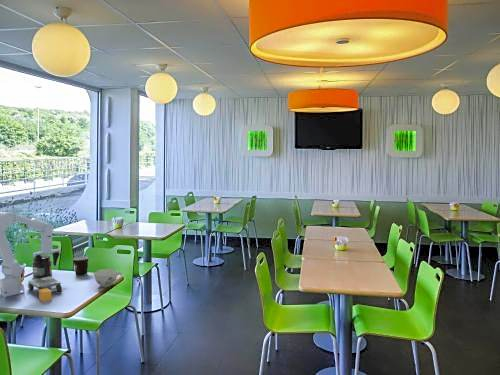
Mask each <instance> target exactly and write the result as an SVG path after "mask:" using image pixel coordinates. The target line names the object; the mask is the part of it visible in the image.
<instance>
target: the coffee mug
mask: <svg viewBox="0 0 500 375" xmlns="http://www.w3.org/2000/svg"><path fill="white" fill-rule="evenodd" d="M72 261H73V265H74V267H73V268H74V270H75V271H74V272H75V276H76V275H77V277H82V276H87V275H88V268H89V267H88V266H89V265H88V264H89V257H88V256H78V257H77V256H76V257H75V258H73V260H72Z"/></svg>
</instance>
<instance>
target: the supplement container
mask: <svg viewBox="0 0 500 375" xmlns="http://www.w3.org/2000/svg"><path fill="white" fill-rule="evenodd" d="M41 257H42V268H40V267H39V264H38V262H37V260H36V258H35V257H34V256H33V258H32V261H33V262H32V264H31V266H32V278H34V279H40V278H45V277H51V276H52V275H53V272H52V271H53V270H52V268H53V267H52V265H53V262H52V260H51V256H50V255H48V254H46V255H41Z"/></svg>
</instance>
